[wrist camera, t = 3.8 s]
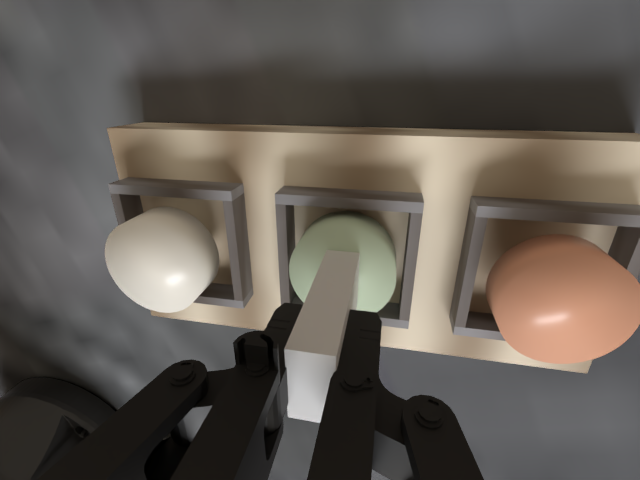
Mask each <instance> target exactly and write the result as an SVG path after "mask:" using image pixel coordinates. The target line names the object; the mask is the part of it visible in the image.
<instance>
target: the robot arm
mask: <svg viewBox="0 0 640 480" xmlns="http://www.w3.org/2000/svg"><path fill="white" fill-rule="evenodd" d="M359 262H360V253H357V252H346V251H334V250H326V253H325V255H324V257H323V260H322V262H321V264H320V267H319V269H318V271H317V274H316V276H315V278H314V281H313V283H312V285H311V288H310V290H309V292H308V295H307V297H306V299H305V302H304V304H303V305H302V304H293V303H283V304H282V305H281V306H280V307H278V308H277V309H276V310H275V311H274V313H273V315H272V317H271V319H270V321H269V322H268V324H267V327H266V328H265V330H264V331H252V332H248V333H245V334H243V335H241V336H239V337H238V338H237V339H236V340H235V341H234V342H233V345H234V353H235V360H236V365H235V367H234V368H231V369H226V370H218V371H209V372H207V369H206V367H205V365H204V364H203V363H201V362H200V361H196V360H184V361H180V362H177V363H175V364H173V365H171V366H170V367H168V368H167V369H165V370H164V371H163V372H162V373H161V374H160V375H158V376H157V377H156V378H155V379H154V380H153V381H151V382H150V383H149V384H148V385H147V386H146V387H144V388H143V389H142V390H141V391H140V392H139V393H137V394H136V395H135V396H134V397H133V398H132V399H130V400H129V401H128V402H127V403H126V404H125V405H123V406H122V407H121V408H120V409H119V410H118V411H116V412H115V411H114V410H113V409H112V408H111V407H110V406H109V405H107V404H106V403H105V402H103V401H102V400H101V399H99V398H98V397H96V396H94V395H93V394H91V393H89V392H88V391H86V390H84V389H82V388H80V387H78V386H75V385H73V384H70V383H67V382H64V381H61V380H57V379H52V378H43V377H38V378H30V379H26V380H24V381H22V382H20V383H19V384H17V385H16V386H15V387H14V388H12V389H11V390H10V391H9V392H7V393H6V394H5V395H4V396H2V397H1V398H0V480H268V477H269V474H270V471H271V468H272V464H273V461H274V458H275V455H276V452H277V449H278V446H279V443H280V440H281V437H282V434H283V417H284V414H285V411H286V408H287V410H288V417H290V418H296V419H301V420H307V421H313V422H318V423H320V426H319V431H318V435H317V439H316V443H315V448H314V452H313V456H312V461H311V465H310V469H309V474H308V478H307V480H371V473H372V469H373V470H374V471H376V472H378V473H380V474H381V475H383V476H385V477H387V478H388V479H390V480H484V479H483V477H482V474H481V472H480V470H479V468H478V465H477V463H476V461H475V459H474V456H473V454H472V452H471V450H470V448H469V445H468V443H467V441H466V439H465V436H464V434H463V432H462V430H461V427H460V425H459V423H458V421H457V418H456V416H455V414H454V413H453V412H452V410H451V409H450V407H449V406H448V405H446V404H445V403H444V402H443V401H441V400H439V399H437V398H435V397H432V396H427V395H418V396H413V397H411V398H410V399H408V400H407V401H406V400H404V399H402V398H400V397H397V396H396V395H394V394H392V393H390V392H389V391H388V390H387V389H386V388H385V387H384V386H383V385H382V383H381V381H380V379H379V373H378V371H379V357H380V343H381V328H382V321H381V319H380V317H379V315H378V314H377V312H369V311H360V310H356V309H357V301H358V282H359Z"/></svg>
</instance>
